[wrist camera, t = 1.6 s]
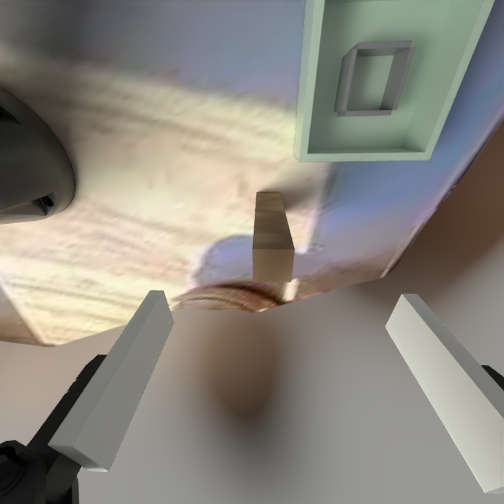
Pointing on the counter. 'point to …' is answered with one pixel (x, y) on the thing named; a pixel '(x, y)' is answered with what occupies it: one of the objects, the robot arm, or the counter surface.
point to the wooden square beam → (271, 240)
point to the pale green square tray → (381, 76)
